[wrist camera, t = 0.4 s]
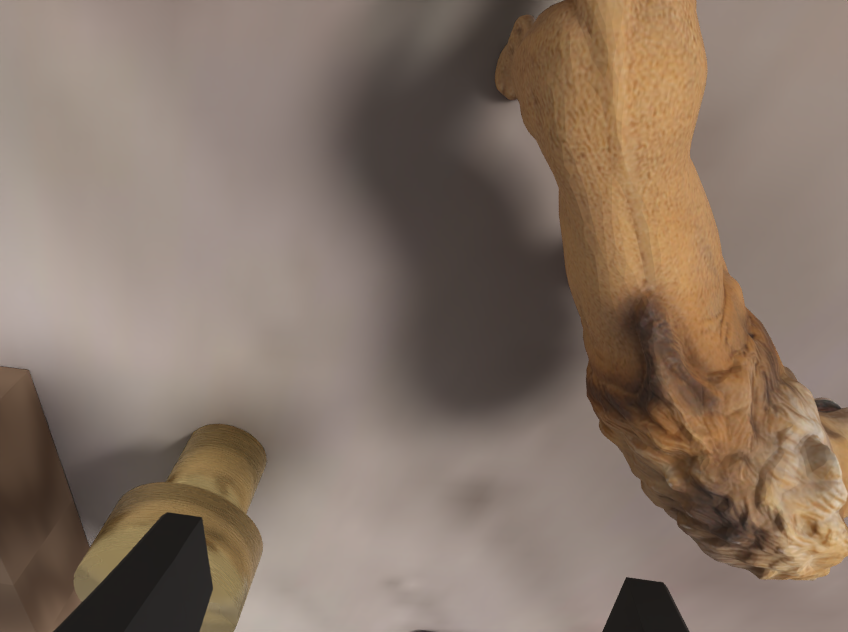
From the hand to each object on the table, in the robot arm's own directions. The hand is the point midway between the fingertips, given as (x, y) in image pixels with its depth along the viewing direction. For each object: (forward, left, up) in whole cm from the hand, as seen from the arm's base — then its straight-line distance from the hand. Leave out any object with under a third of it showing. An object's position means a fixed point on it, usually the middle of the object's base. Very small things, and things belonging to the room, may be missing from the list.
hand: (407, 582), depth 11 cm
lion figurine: (+5, -4, -10) cm, 12 cm away
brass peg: (-9, +8, -10) cm, 15 cm away
